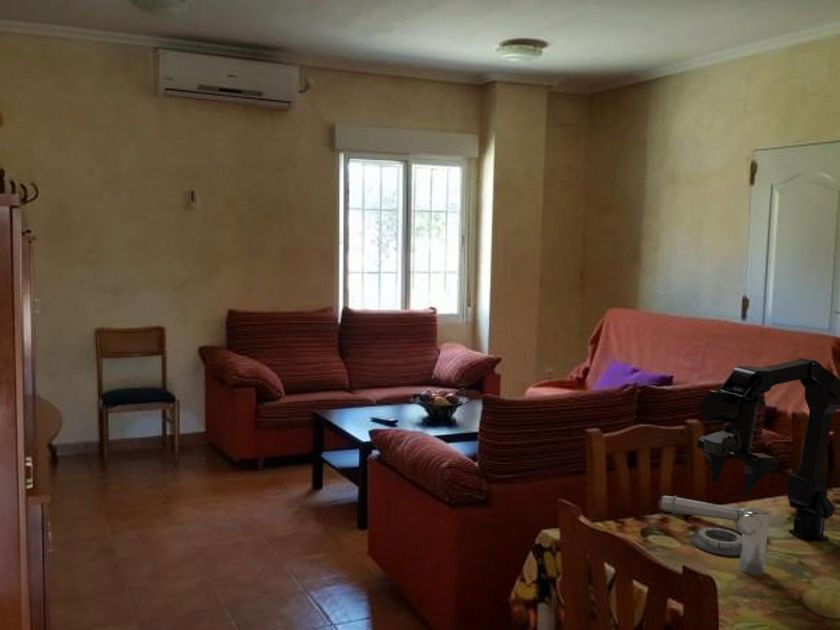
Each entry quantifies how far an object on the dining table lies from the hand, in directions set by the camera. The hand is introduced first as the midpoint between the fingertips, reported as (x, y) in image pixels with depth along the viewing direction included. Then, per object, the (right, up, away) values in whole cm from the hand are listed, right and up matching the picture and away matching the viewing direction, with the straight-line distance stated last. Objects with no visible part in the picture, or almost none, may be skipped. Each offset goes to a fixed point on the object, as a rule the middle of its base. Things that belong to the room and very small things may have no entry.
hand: (729, 489), depth 179 cm
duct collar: (-1, -14, +4) cm, 15 cm away
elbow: (+1, -16, -9) cm, 18 cm away
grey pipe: (+2, -13, +19) cm, 23 cm away
